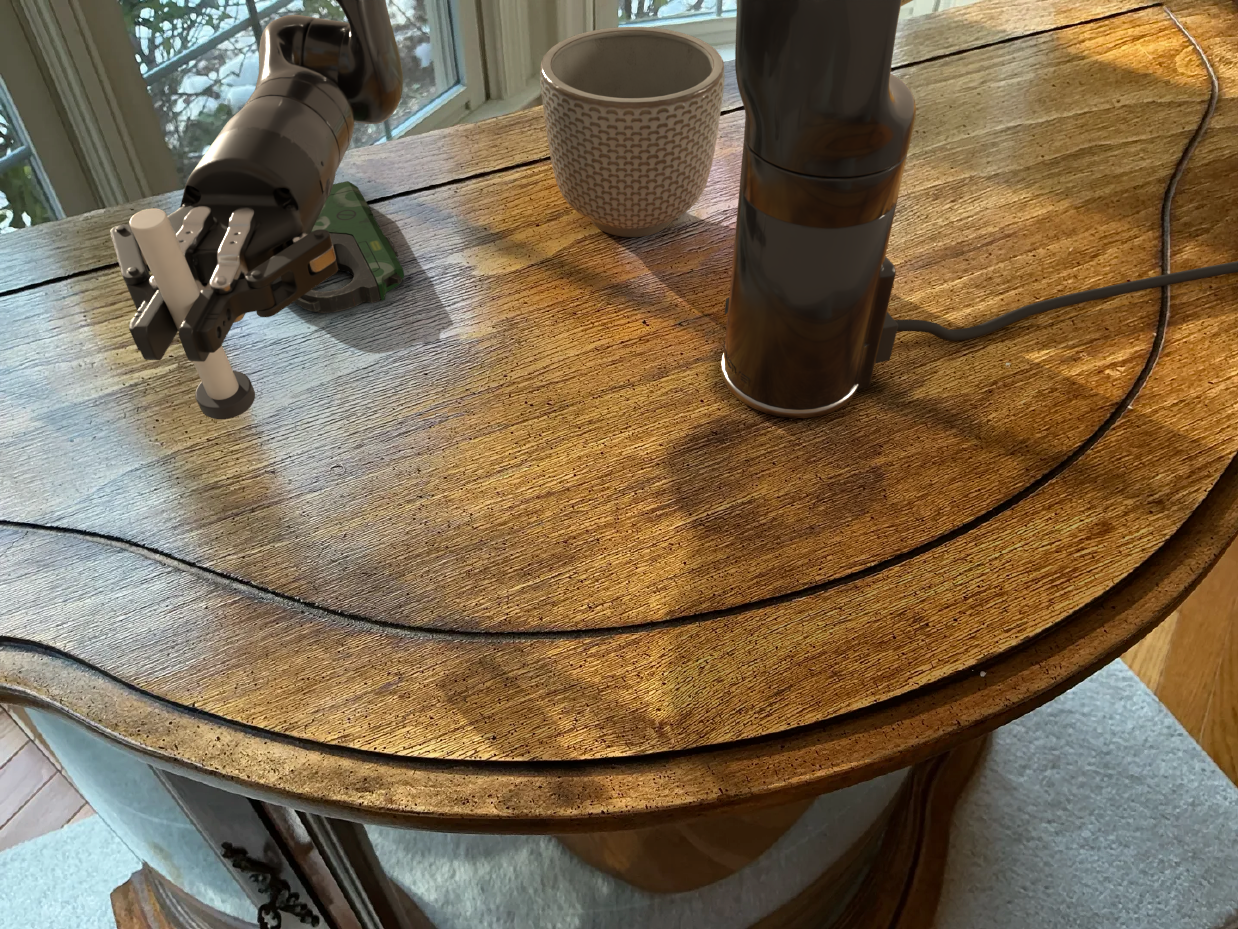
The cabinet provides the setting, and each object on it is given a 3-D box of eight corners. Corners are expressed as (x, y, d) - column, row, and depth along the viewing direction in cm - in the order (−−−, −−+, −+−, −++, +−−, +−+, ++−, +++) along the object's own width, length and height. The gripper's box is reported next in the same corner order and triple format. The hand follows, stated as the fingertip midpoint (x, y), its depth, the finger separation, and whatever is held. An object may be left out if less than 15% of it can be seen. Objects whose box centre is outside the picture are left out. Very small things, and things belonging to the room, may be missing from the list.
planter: (577, 165, 89) (571, 17, 79) (729, 186, 86) (741, 35, 77) (525, 247, 79) (512, 90, 70) (694, 273, 76) (704, 113, 67)
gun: (238, 203, 81) (357, 177, 84) (243, 219, 82) (360, 192, 85) (278, 310, 71) (412, 275, 74) (283, 326, 72) (415, 291, 75)
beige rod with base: (251, 375, 60) (177, 193, 50) (259, 411, 58) (184, 228, 48) (197, 390, 59) (111, 208, 49) (204, 426, 57) (116, 244, 47)
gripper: (142, 121, 61) (6, 284, 49) (361, 126, 61) (280, 292, 48) (180, 227, 66) (67, 398, 54) (382, 232, 66) (314, 406, 54)
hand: (168, 347), depth 51 cm, fingers closed on beige rod with base, 2 cm apart
